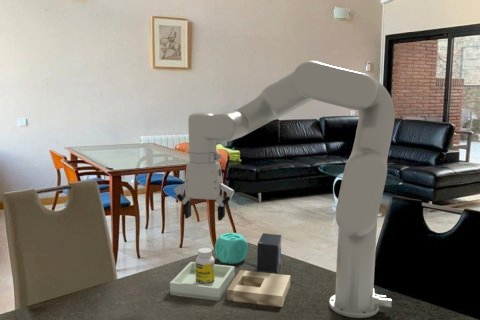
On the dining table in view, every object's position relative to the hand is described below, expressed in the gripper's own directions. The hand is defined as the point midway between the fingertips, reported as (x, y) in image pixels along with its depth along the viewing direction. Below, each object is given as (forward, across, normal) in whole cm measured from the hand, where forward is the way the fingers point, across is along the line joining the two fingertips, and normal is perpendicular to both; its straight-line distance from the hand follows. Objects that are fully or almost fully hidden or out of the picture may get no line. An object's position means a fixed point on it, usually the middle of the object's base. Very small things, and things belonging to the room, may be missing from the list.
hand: (204, 218), depth 133 cm
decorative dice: (+20, -1, -22) cm, 30 cm away
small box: (+21, -15, -16) cm, 30 cm away
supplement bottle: (+19, 0, 0) cm, 19 cm away
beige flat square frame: (+20, -16, 0) cm, 26 cm away
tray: (+20, +1, 0) cm, 20 cm away
